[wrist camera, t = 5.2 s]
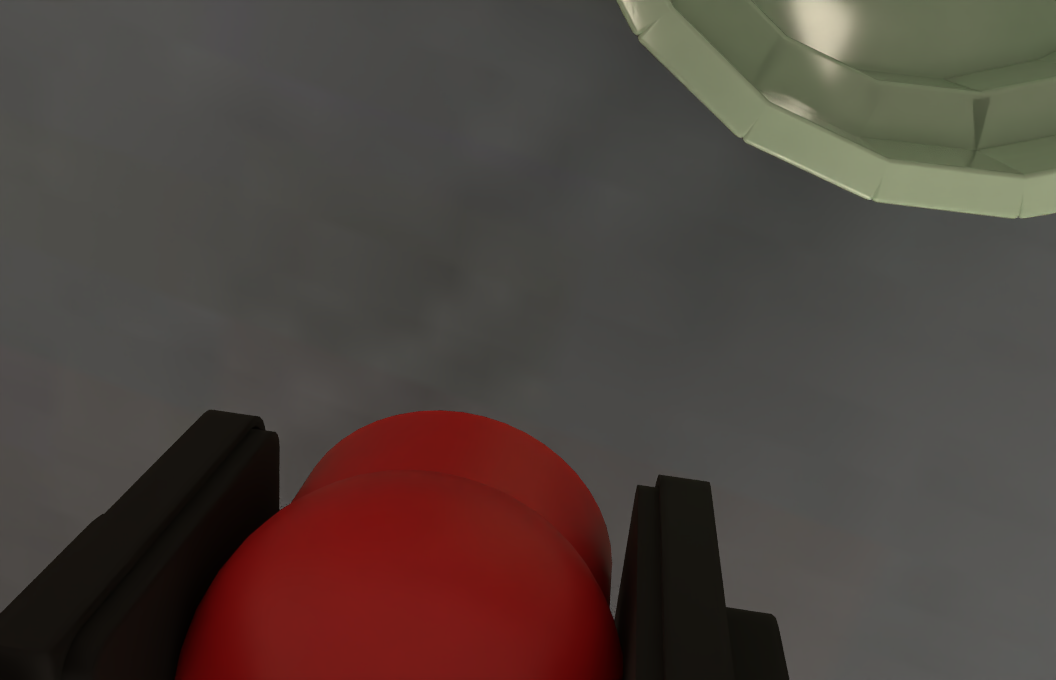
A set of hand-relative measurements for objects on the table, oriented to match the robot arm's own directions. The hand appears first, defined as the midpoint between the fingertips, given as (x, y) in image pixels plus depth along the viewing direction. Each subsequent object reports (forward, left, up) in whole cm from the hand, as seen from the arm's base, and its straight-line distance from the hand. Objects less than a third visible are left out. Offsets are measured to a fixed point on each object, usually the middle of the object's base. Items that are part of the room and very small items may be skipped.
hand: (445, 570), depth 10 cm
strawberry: (0, 0, 0) cm, 0 cm away
